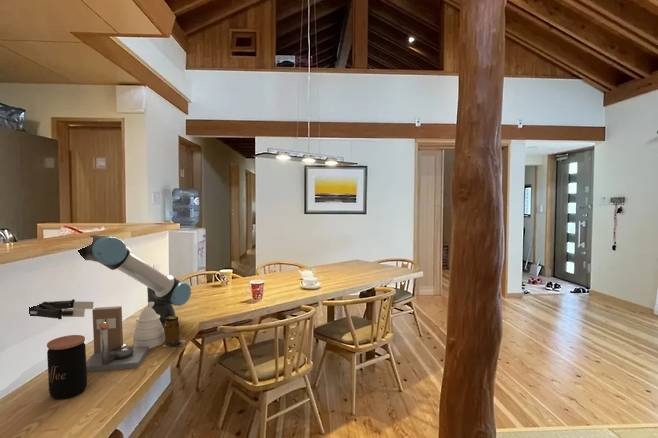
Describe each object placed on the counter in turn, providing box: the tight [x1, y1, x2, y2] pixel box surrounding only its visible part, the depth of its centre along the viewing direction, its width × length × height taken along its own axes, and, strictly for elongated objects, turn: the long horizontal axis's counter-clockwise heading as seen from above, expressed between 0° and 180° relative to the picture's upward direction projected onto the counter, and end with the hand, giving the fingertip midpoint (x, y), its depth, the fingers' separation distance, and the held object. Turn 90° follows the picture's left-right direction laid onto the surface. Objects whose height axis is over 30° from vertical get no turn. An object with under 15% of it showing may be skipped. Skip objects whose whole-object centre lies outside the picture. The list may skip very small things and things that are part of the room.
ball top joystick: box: [99, 322, 133, 365], centre depth 152 cm, size 12×10×16 cm
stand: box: [86, 305, 150, 373], centre depth 154 cm, size 16×20×20 cm
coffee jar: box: [46, 334, 88, 401], centre depth 130 cm, size 11×11×18 cm
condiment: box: [161, 315, 187, 348], centre depth 172 cm, size 7×8×12 cm
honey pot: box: [132, 302, 165, 349], centre depth 172 cm, size 13×13×18 cm
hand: (89, 308), depth 145 cm, fingers open, 13 cm apart
